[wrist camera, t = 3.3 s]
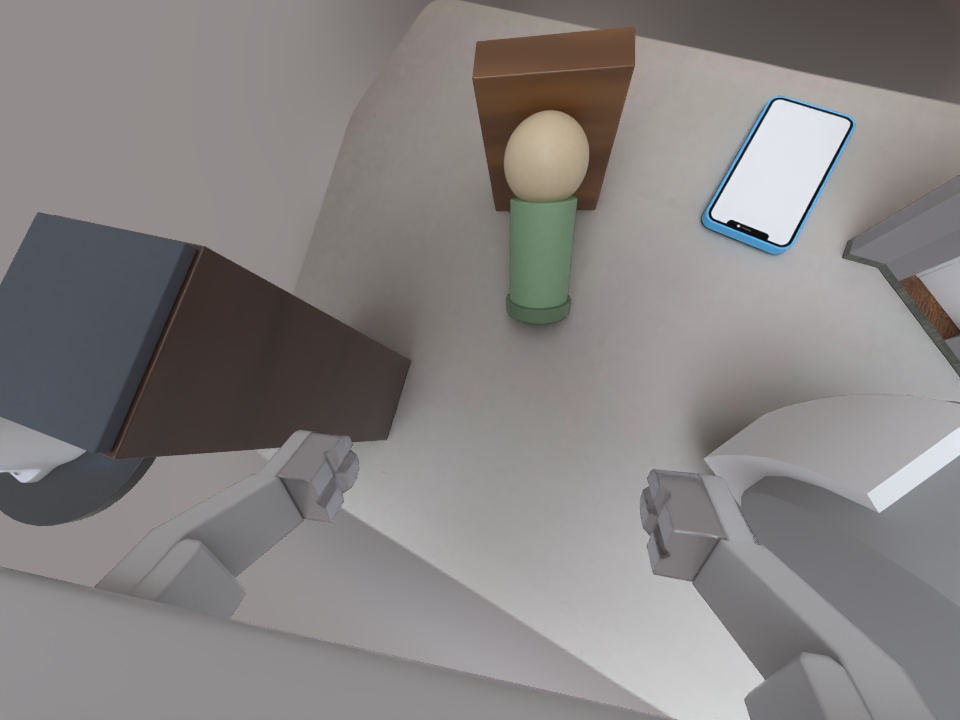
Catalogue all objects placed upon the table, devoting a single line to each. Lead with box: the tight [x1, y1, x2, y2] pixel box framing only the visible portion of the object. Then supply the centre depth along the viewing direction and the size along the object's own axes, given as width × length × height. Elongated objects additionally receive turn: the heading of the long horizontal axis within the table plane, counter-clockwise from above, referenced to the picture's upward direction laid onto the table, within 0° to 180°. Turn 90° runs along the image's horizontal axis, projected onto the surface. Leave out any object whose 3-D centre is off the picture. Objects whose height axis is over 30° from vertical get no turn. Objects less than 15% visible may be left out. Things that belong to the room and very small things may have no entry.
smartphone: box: [702, 96, 856, 254], centre depth 32 cm, size 8×1×15 cm
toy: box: [504, 110, 589, 324], centre depth 27 cm, size 13×6×13 cm, turn 175°
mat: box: [0, 213, 197, 453], centre depth 13 cm, size 8×8×1 cm
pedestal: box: [54, 215, 411, 460], centre depth 24 cm, size 8×8×22 cm
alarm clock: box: [703, 394, 960, 720], centre depth 17 cm, size 18×8×20 cm, turn 36°
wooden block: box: [472, 26, 635, 211], centre depth 28 cm, size 3×10×14 cm, turn 85°
